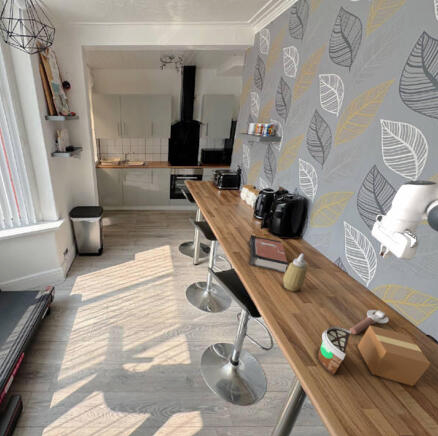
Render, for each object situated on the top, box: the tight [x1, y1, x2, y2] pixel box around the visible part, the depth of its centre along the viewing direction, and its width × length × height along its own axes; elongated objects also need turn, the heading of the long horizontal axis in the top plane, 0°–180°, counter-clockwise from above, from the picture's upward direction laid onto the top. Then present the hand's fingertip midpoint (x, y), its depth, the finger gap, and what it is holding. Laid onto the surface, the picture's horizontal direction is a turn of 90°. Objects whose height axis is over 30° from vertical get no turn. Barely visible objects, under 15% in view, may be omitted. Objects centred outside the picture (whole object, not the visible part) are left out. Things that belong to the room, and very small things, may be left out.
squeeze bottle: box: [282, 252, 308, 292], centre depth 104 cm, size 8×8×18 cm
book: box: [248, 234, 289, 274], centre depth 131 cm, size 26×18×5 cm
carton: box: [357, 325, 432, 387], centre depth 73 cm, size 10×10×10 cm
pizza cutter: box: [348, 309, 390, 335], centre depth 89 cm, size 20×6×3 cm, turn 115°
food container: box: [317, 326, 352, 375], centre depth 74 cm, size 12×6×10 cm, turn 134°
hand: (383, 256), depth 91 cm, fingers closed
